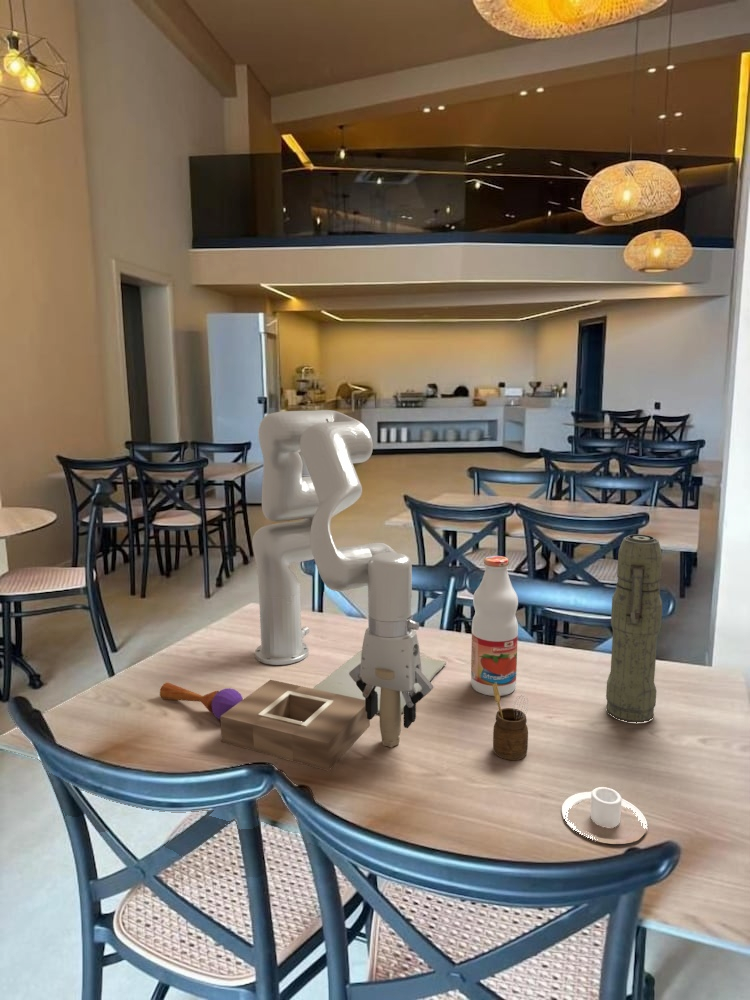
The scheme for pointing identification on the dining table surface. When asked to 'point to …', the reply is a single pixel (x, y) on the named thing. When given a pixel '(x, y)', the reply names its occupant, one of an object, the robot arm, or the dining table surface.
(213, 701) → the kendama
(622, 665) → the thermos
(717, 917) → the dining table surface
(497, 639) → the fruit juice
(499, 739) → the utensil holder
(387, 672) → the handle
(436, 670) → the decorative slab
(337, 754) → the brown flat block
